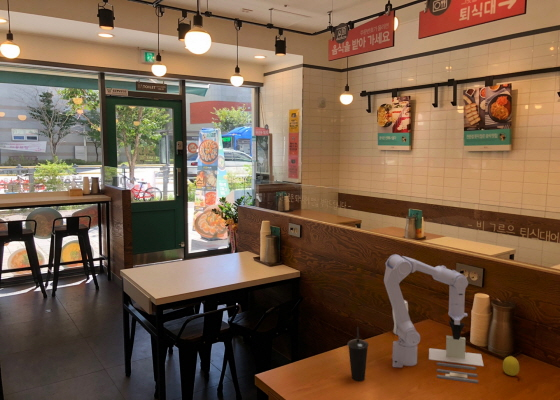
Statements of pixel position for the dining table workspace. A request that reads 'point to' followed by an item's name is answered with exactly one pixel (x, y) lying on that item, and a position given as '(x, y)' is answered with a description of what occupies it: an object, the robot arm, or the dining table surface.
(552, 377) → the dining table surface
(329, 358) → the dining table surface
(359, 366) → the drinking cup
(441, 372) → the rack
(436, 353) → the board
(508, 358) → the lemon
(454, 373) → the offcut top
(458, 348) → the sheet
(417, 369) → the dining table surface
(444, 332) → the dining table surface
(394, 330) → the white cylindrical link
